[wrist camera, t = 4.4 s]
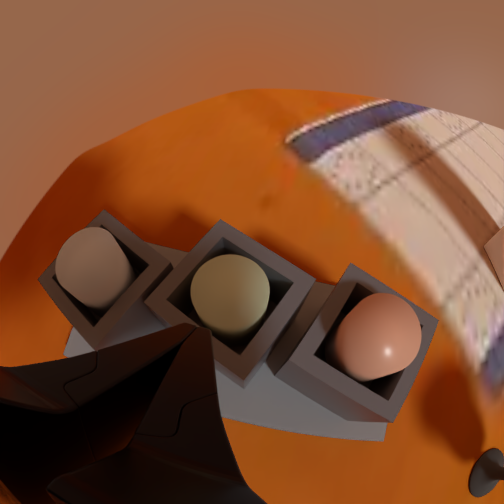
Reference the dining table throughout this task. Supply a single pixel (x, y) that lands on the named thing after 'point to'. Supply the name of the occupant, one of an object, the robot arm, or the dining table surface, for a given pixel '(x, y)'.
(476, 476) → the sundae
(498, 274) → the milk
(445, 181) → the dining table surface
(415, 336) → the salmon orange ball
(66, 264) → the white rounded dome
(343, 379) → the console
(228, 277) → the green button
